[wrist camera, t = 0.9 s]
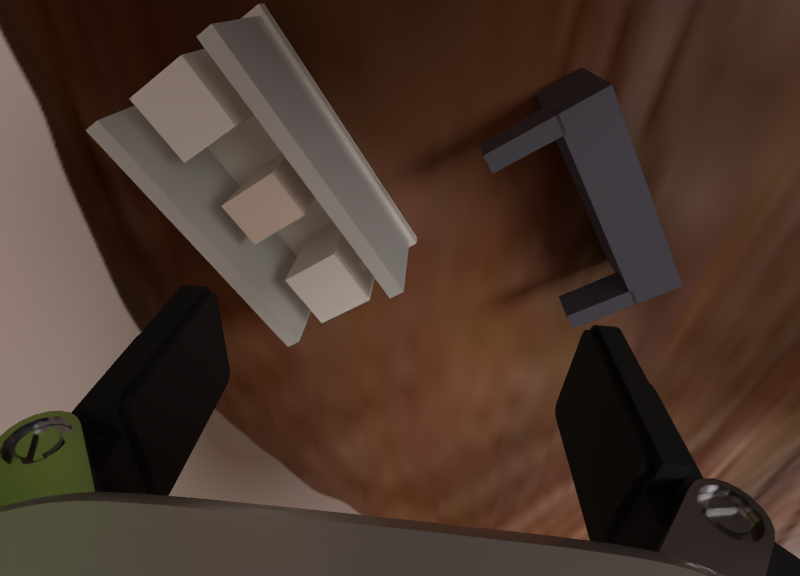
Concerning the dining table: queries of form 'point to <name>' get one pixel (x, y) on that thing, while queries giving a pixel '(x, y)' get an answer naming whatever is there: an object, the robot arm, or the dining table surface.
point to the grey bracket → (597, 190)
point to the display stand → (262, 176)
